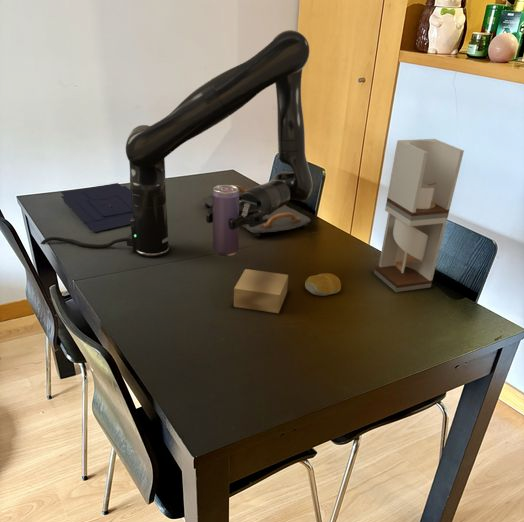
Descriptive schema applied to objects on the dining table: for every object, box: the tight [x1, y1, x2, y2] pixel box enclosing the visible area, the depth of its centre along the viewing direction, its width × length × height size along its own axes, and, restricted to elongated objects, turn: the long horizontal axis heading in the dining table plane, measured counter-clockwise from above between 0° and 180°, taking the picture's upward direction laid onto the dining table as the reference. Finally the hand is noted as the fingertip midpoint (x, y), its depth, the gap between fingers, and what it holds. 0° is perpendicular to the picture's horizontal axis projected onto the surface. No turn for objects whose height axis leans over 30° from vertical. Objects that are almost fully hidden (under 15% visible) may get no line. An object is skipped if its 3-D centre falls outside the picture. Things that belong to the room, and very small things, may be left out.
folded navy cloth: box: [60, 182, 133, 233], centre depth 179 cm, size 24×30×4 cm
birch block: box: [233, 268, 289, 314], centre depth 133 cm, size 11×11×5 cm
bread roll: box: [304, 272, 342, 297], centre depth 140 cm, size 8×9×4 cm
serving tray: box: [201, 184, 311, 240], centre depth 180 cm, size 39×23×6 cm, turn 34°
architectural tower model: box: [373, 138, 465, 293], centre depth 137 cm, size 11×11×35 cm
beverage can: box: [211, 184, 240, 257], centre depth 125 cm, size 6×6×15 cm
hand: (219, 221), depth 123 cm, fingers closed on beverage can, 6 cm apart
